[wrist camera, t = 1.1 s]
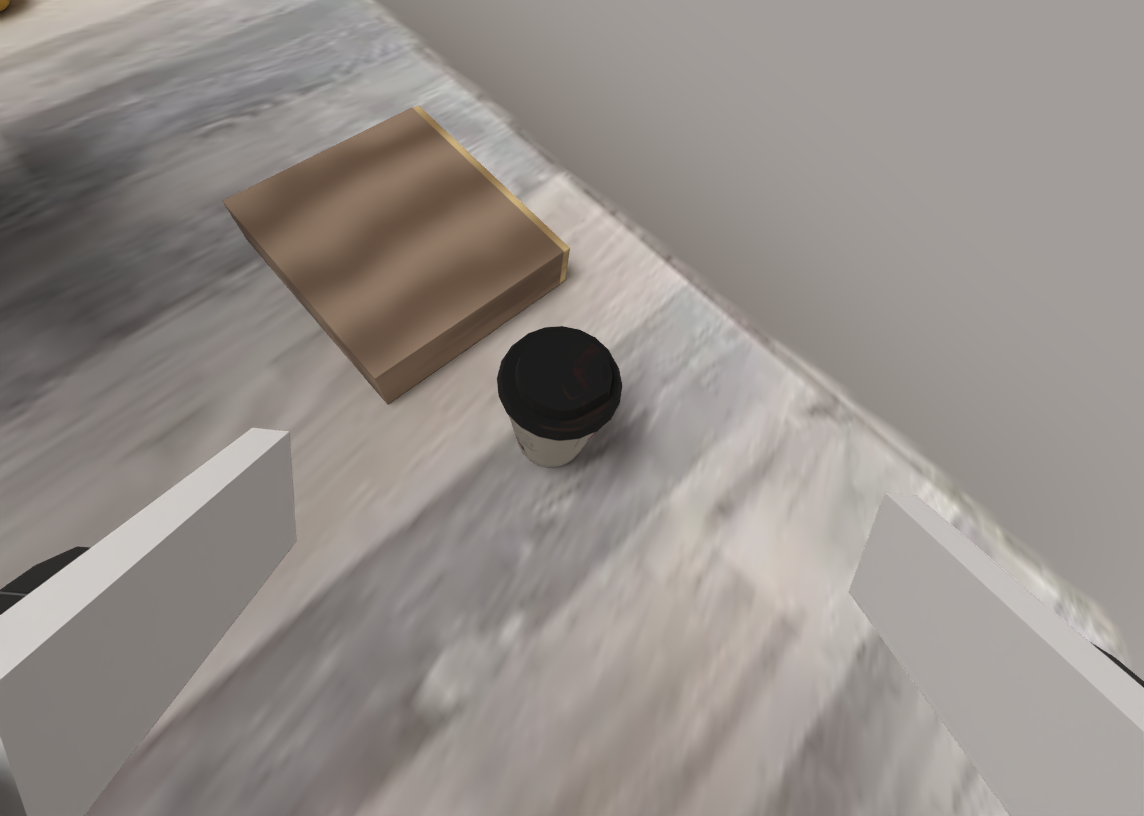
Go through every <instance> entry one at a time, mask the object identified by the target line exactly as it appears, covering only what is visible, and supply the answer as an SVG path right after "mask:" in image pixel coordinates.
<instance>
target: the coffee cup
mask: <svg viewBox="0 0 1144 816" xmlns="http://www.w3.org/2000/svg"><path fill="white" fill-rule="evenodd" d="M497 383H498V393H499V398H500V400H501V402H502V404H503V406H504V408H505V410H506V412H507V414H508V415H509V417H510V420H511V423H512V426H513V429H514V432H515V435H516V438H517V441H518V444H519V446H520V449H521V451H522V453H523V454H524V455H525V456H526V457H527V458H528V459H529V460H530V461H532V462H533V463H535V464H537V465H539V466H544V467H549V468H550V467H559V466H562V465H564V464H567V463H569V462H570V461H571V460H572V459H573V458H575V457H576V456H577V455H578V453H579V452H580V451H581V450H582V448H583V447H584V446H585V445H586V443H587V442H588V441H589V440H590V438H591V437H592V436H593V435H594V433H595V432H596V431H598V430H599V429H600V428H601V427H602V426H603V425H605V424H606V423H607V422H608V421H609V420H610V419H611V418H612V416H613V414H614V412H615V411H616V409H617V407H618V405H619V403H620V397H621V391H622V382H621V377H620V371H619V368H618V366H617V364H616V362H615V361H614V359H613V357H612V355H611V354H610V352H609V350H608V349H607V348H606V347H605V346H604V345H603V344H602V343H601V342H599V341H598V340H597V339H596V338H595V337H593V336H591V335H589V334H587V333H585V332H583V331H581V330H578V329H573V328H568V327H563V326H560V327H546V328H542V329H539V330H537V331H534V332H531V333H528V334H527V335H526V336H525V337H523V338H522V339H521V340H519V341H518V342H517V343H515V344H514V345H513V346H512V347H511V348H510V349H509V351H508V352H507V354H506V355H505V357H504V358H503V360H502V361H501V365H500V369H499V373H498V377H497Z"/></svg>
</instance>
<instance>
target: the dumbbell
mask: <svg viewBox="0 0 1144 816" xmlns="http://www.w3.org/2000/svg"><path fill="white" fill-rule="evenodd" d="M9 2H10V0H0V11H2V10H4V9H5V8H6V7H7V6H8V5H9Z"/></svg>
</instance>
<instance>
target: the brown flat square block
mask: <svg viewBox="0 0 1144 816" xmlns="http://www.w3.org/2000/svg"><path fill="white" fill-rule="evenodd" d="M222 202H223V203H224V205H225V206H226V208H227V209H228V211H229V212H230V214H231V216H232V217H233V219H234V220H235V222H236V223H237V225H238V226H239V228H240V230H241V231H242V233H243V234H244V236H245V237H246V239H247V240H248V241H249V243H250V244H251V245H252V246H253V247H254V249H255V250H256V251H257V252H258V253H259V254H260V256H261V257H262V258H263V259H264V260H265V261H266V263H267V264H268V265H269V266H270V267H271V268H272V270H273V271H274V272H275V273H276V274H277V275H278V277H279V278H280V279H281V280H282V281H283V282H284V284H285V285H286V286H287V287H288V288H289V290H290V291H291V292H292V293H293V294H294V295H295V297H296V298H297V299H298V300H299V301H300V302H301V304H302V305H303V306H304V307H305V308H306V309H307V311H308V312H309V313H310V314H311V315H312V316H313V318H314V319H315V320H316V321H317V322H318V323H319V325H320V326H321V327H322V328H323V329H324V331H325V332H326V333H327V334H328V335H329V336H330V338H331V339H332V340H333V341H334V342H335V343H336V345H337V346H338V347H339V348H340V349H341V350H342V352H343V353H344V354H345V355H346V356H347V357H348V359H349V360H350V361H351V362H352V363H353V364H354V366H355V367H356V368H357V369H358V370H359V372H360V373H361V374H362V375H363V376H364V377H365V379H366V380H367V381H368V382H369V383H370V384H371V386H372V387H373V388H374V389H375V390H376V391H377V393H378V394H379V395H380V396H381V397H382V398H383V400H384V401H385V402H386V403H387V404H389V403H391V402H392V401H394V400H395V399H396V398H398V397H399V396H401V395H402V394H404V393H405V392H406V391H408V390H409V389H411V388H412V387H414V386H415V385H416V384H418V383H419V382H421V381H422V380H424V379H425V378H426V377H428V376H429V375H431V374H432V373H434V372H435V371H437V370H438V369H439V368H441V367H442V366H444V365H445V364H447V363H448V362H449V361H451V360H452V359H454V358H455V357H457V356H458V355H459V354H461V353H462V352H464V351H465V350H467V349H468V348H469V347H471V346H472V345H474V344H475V343H477V342H478V341H479V340H481V339H482V338H484V337H485V336H487V335H488V334H490V333H491V332H492V331H494V330H495V329H497V328H498V327H500V326H501V325H502V324H504V323H505V322H507V321H508V320H510V319H511V318H512V317H514V316H515V315H517V314H518V313H520V312H521V311H522V310H524V309H525V308H527V307H528V306H530V305H531V304H532V303H534V302H535V301H537V300H538V299H540V298H541V297H542V296H544V295H545V294H547V293H548V292H550V291H551V290H553V289H554V288H555V287H557V286H558V285H560V283H562V282H563V281H564V280H565V278H566V271H567V265H568V258H569V251H570V248H569V247H568V246H567V245H566V244H565V243H564V242H563V241H562V240H561V239H560V238H559V237H558V236H557V235H555V234H554V233H553V232H552V231H551V230H550V229H549V228H548V227H547V226H546V225H545V224H544V223H543V222H542V221H541V220H540V219H539V218H537V217H536V216H535V215H534V214H533V213H532V212H531V211H530V210H529V209H528V208H527V207H526V206H525V205H524V204H523V203H522V202H520V201H519V200H518V199H517V198H516V197H515V196H514V195H513V194H512V193H511V192H510V191H509V190H508V189H507V188H506V187H505V186H503V185H502V184H501V183H500V182H499V181H498V180H497V179H496V178H495V177H494V176H493V175H492V174H491V173H490V172H489V171H488V170H487V169H485V168H484V167H483V166H482V165H481V164H480V163H479V162H478V161H477V160H476V159H475V158H474V157H473V156H472V155H471V154H470V153H468V152H467V151H466V150H465V149H464V148H463V147H462V146H461V145H460V144H459V143H458V142H457V141H456V140H455V139H454V138H453V137H451V136H450V135H449V134H448V133H447V132H446V131H445V130H444V129H443V128H442V127H441V126H440V125H439V124H438V123H437V122H436V121H435V120H433V119H432V118H431V117H430V116H429V115H428V114H427V113H426V112H425V111H424V110H423V109H422V108H421V107H420V106H417V107H415V108H410V109H408V110H406V111H404V112H402V113H400V114H398V115H396V116H394V117H392V118H390V119H388V120H386V121H384V122H382V123H380V124H378V125H376V126H373V127H371V128H369V129H367V130H365V131H363V132H361V133H359V134H357V135H355V136H353V137H351V138H349V139H347V140H345V141H343V142H341V143H339V144H337V145H335V146H333V147H331V148H329V149H327V150H325V151H323V152H321V153H319V154H317V155H315V156H313V157H311V158H309V159H306V160H304V161H302V162H300V163H298V164H296V165H294V166H292V167H290V168H288V169H286V170H284V171H282V172H280V173H278V174H276V175H274V176H272V177H270V178H268V179H266V180H264V181H262V182H260V183H258V184H256V185H254V186H252V187H250V188H248V189H246V190H244V191H242V192H239V193H237V194H235V195H233V196H231V197H229V198H227V199H225V200H223V201H222Z"/></svg>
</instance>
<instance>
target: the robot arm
mask: <svg viewBox="0 0 1144 816" xmlns="http://www.w3.org/2000/svg"><path fill="white" fill-rule="evenodd" d="M296 541H297V540H296V525H295V510H294V494H293V479H292V463H291V448H290V432H289V431H280V430H270V429H260V428H251V429H250V430H249V431H247V432H246V433H245V434H243V435H242V436H241V437H239V438H238V439H237V440H235V441H234V442H233V443H231V444H230V445H229V446H227V447H226V448H224V449H223V450H222V451H220V452H219V453H218V454H216V455H215V456H214V457H212V458H211V459H210V460H208V461H207V462H206V463H204V464H203V465H202V466H200V467H199V468H198V469H196V470H195V471H194V472H192V473H191V474H190V475H188V476H187V477H185V478H184V479H183V480H181V481H180V482H179V483H177V484H176V485H175V486H173V487H172V488H171V489H169V490H168V491H167V492H165V493H164V494H163V495H161V496H160V497H159V498H157V499H156V500H155V501H153V502H152V503H151V504H149V505H148V506H146V507H145V508H144V509H142V510H141V511H140V512H138V513H137V514H136V515H134V516H133V517H132V518H130V519H129V520H128V521H126V522H125V523H124V524H122V525H121V526H120V527H118V528H117V529H116V530H114V531H113V532H112V533H110V534H109V535H107V536H106V537H105V538H103V539H102V540H101V541H99V542H98V543H97V544H95V545H94V546H93V547H91V548H88V547H75V548H73V549H71V550H69V551H66V552H64V553H62V554H60V555H57V556H55V557H53V558H51V559H48V560H46V561H44V562H42V563H39V564H37V565H35V566H33V567H32V568H31V569H29V570H28V571H26V572H25V573H23V574H22V575H21V576H19V577H18V578H16V579H15V580H13V581H12V582H11V583H9V584H8V585H6V586H5V587H3V588H2V589H1V590H0V816H84V815H85V814H86V812H87V811H88V810H89V809H90V807H91V806H92V805H93V803H94V802H95V801H96V800H97V798H98V797H99V796H100V794H101V793H102V792H103V790H104V789H105V788H106V787H107V785H108V784H109V783H110V781H111V780H112V779H113V778H114V776H115V775H116V774H117V772H118V771H119V770H120V769H121V767H122V766H123V765H124V763H125V762H126V761H127V759H128V758H129V757H130V756H131V754H132V753H133V752H134V750H135V749H136V748H137V747H138V745H139V744H140V743H141V741H142V740H143V739H144V738H145V736H146V735H147V734H148V732H149V731H150V730H151V728H152V727H153V726H154V725H155V723H156V722H157V721H158V719H159V718H160V717H161V716H162V714H163V713H164V712H165V710H166V709H167V708H168V707H169V705H170V704H171V703H172V701H173V700H174V699H175V698H176V696H177V695H178V694H179V692H180V691H181V690H182V688H183V687H184V686H185V685H186V683H187V682H188V681H189V679H190V678H191V677H192V676H193V674H194V673H195V672H196V670H197V669H198V668H199V667H200V665H201V664H202V663H203V661H204V660H205V659H206V657H207V656H208V655H209V654H210V652H211V651H212V650H213V648H214V647H215V646H216V645H217V643H218V642H219V641H220V639H221V638H222V637H223V636H224V634H225V633H226V632H227V630H228V629H229V628H230V627H231V625H232V624H233V623H234V621H235V620H236V619H237V617H238V616H239V615H240V614H241V612H242V611H243V610H244V608H245V607H246V606H247V605H248V603H249V602H250V601H251V599H252V598H253V597H254V596H255V594H256V593H257V592H258V590H259V589H260V588H261V586H262V585H263V584H264V583H265V581H266V580H267V579H268V577H269V576H270V575H271V574H272V572H273V571H274V570H275V568H276V567H277V566H278V565H279V563H280V562H281V561H282V559H283V558H284V557H285V555H286V554H287V553H288V552H289V550H290V549H291V548H292V546H293V545H294V544H295V543H296ZM849 593H850V595H851V596H852V597H853V599H854V600H855V602H856V603H857V604H858V606H859V607H860V608H861V610H862V611H863V613H864V614H865V615H866V617H867V618H868V620H869V621H870V622H871V624H872V625H873V627H874V628H875V629H876V631H877V632H878V633H879V635H880V636H881V638H882V639H883V640H884V642H885V643H886V645H887V646H888V647H889V649H890V650H891V652H892V653H893V654H894V656H895V657H896V659H897V660H898V661H899V663H900V664H901V665H902V667H903V668H904V670H905V671H906V672H907V674H908V675H909V677H910V678H911V679H912V681H913V682H914V684H915V685H916V686H917V688H918V689H919V690H920V692H921V693H922V695H923V696H924V697H925V699H926V700H927V702H928V703H929V704H930V706H931V707H932V709H933V710H934V711H935V713H936V714H937V716H938V717H939V718H940V720H941V721H942V722H943V724H944V725H945V727H946V728H947V729H948V731H949V732H950V734H951V735H952V736H953V738H954V739H955V741H956V742H957V743H958V745H959V746H960V747H961V749H962V750H963V752H964V753H965V754H966V756H967V757H968V759H969V760H970V761H971V763H972V764H973V766H974V767H975V768H976V770H977V771H978V773H979V774H980V775H981V777H982V778H983V779H984V781H985V782H986V784H987V785H988V786H989V788H990V789H991V791H992V792H993V793H994V795H995V796H996V798H997V799H998V800H999V802H1000V803H1001V804H1002V806H1003V807H1004V809H1005V810H1006V811H1007V813H1008V814H1009V816H1144V681H1143V680H1141V679H1140V678H1139V677H1138V676H1137V675H1135V674H1134V673H1133V672H1132V671H1131V670H1129V669H1128V668H1127V667H1126V666H1125V665H1123V664H1122V663H1121V662H1120V661H1119V660H1117V659H1116V658H1115V657H1113V656H1112V655H1110V654H1108V653H1107V652H1105V651H1104V650H1102V649H1100V648H1099V647H1097V646H1096V645H1094V644H1092V643H1091V642H1089V641H1088V640H1087V639H1086V638H1084V637H1083V636H1082V635H1081V634H1080V633H1078V632H1077V631H1076V630H1075V629H1074V628H1073V627H1071V626H1070V625H1069V624H1068V623H1067V622H1066V621H1064V620H1063V619H1062V618H1061V617H1060V616H1058V615H1057V614H1056V613H1055V612H1054V611H1053V610H1051V609H1050V608H1049V607H1048V606H1047V605H1045V604H1044V603H1043V602H1042V601H1041V600H1040V599H1038V598H1037V597H1036V596H1035V595H1034V594H1033V593H1031V592H1030V591H1029V590H1028V589H1027V588H1025V587H1024V586H1023V585H1022V584H1021V583H1020V582H1018V581H1017V580H1016V579H1015V578H1014V577H1012V576H1011V575H1010V574H1009V573H1008V572H1007V571H1005V570H1004V569H1003V568H1002V567H1001V566H999V565H998V564H997V563H996V562H995V561H994V560H992V559H991V558H990V557H989V556H988V555H987V554H985V553H984V552H983V551H982V550H981V549H979V548H978V547H977V546H976V545H975V544H974V543H972V542H971V541H970V540H969V539H968V538H966V537H965V536H964V535H963V534H962V533H961V532H959V531H958V530H957V529H956V528H955V527H953V526H952V525H951V524H950V523H949V522H948V521H946V520H945V519H944V518H943V517H942V516H941V515H939V514H938V513H937V512H936V511H935V510H933V509H932V508H931V507H930V506H929V505H928V504H926V503H925V502H924V501H923V500H922V499H920V498H919V497H918V496H915V495H905V494H895V493H886V492H885V493H884V495H883V498H882V501H881V504H880V507H879V509H878V512H877V515H876V518H875V520H874V523H873V526H872V529H871V531H870V534H869V537H868V540H867V542H866V545H865V548H864V551H863V553H862V556H861V559H860V562H859V564H858V567H857V570H856V573H855V576H854V578H853V581H852V584H851V587H850V589H849Z"/></svg>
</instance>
